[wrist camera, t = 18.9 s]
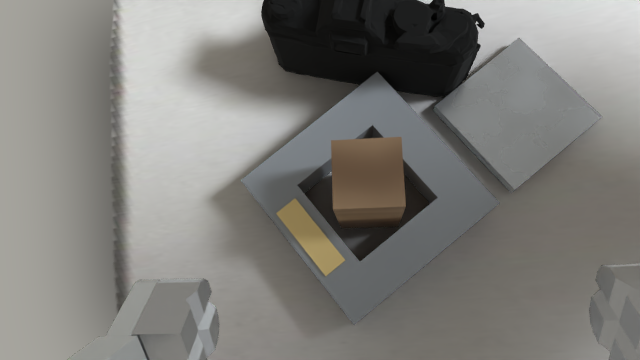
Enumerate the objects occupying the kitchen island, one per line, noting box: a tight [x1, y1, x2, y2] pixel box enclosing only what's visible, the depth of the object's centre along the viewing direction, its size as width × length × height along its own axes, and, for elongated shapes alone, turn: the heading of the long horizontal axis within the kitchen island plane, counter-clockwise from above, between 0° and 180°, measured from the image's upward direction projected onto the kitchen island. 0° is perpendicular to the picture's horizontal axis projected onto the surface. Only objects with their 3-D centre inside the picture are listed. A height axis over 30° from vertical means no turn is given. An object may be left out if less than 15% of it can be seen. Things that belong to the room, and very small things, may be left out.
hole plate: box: [241, 72, 500, 325], centre depth 35 cm, size 12×12×3 cm
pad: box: [433, 38, 602, 193], centre depth 36 cm, size 8×8×1 cm
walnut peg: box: [331, 137, 406, 229], centre depth 32 cm, size 4×4×8 cm
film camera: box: [261, 0, 485, 96], centre depth 35 cm, size 15×10×9 cm, turn 77°
